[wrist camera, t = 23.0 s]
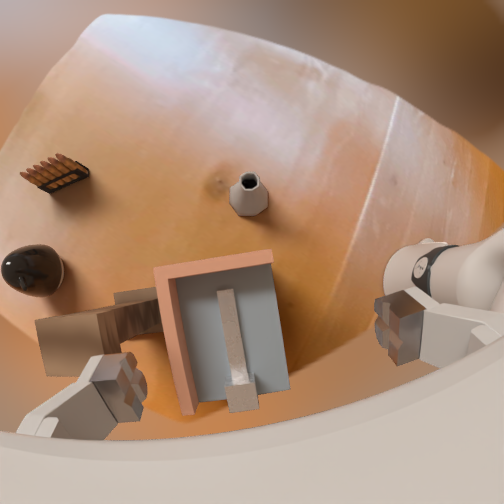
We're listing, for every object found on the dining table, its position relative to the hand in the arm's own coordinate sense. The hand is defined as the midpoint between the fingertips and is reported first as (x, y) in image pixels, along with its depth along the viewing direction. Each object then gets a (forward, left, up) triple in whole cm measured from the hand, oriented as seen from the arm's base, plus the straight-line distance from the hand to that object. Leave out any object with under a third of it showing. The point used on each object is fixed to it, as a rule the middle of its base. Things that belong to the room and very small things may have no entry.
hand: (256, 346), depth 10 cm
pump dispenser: (+37, +15, -46) cm, 61 cm away
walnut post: (+14, +12, -45) cm, 49 cm away
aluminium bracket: (-1, +7, -29) cm, 30 cm away
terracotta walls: (0, +5, -29) cm, 29 cm away
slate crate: (0, +5, -45) cm, 46 cm away
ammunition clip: (+43, -3, -46) cm, 63 cm away
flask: (+7, -15, -46) cm, 48 cm away
